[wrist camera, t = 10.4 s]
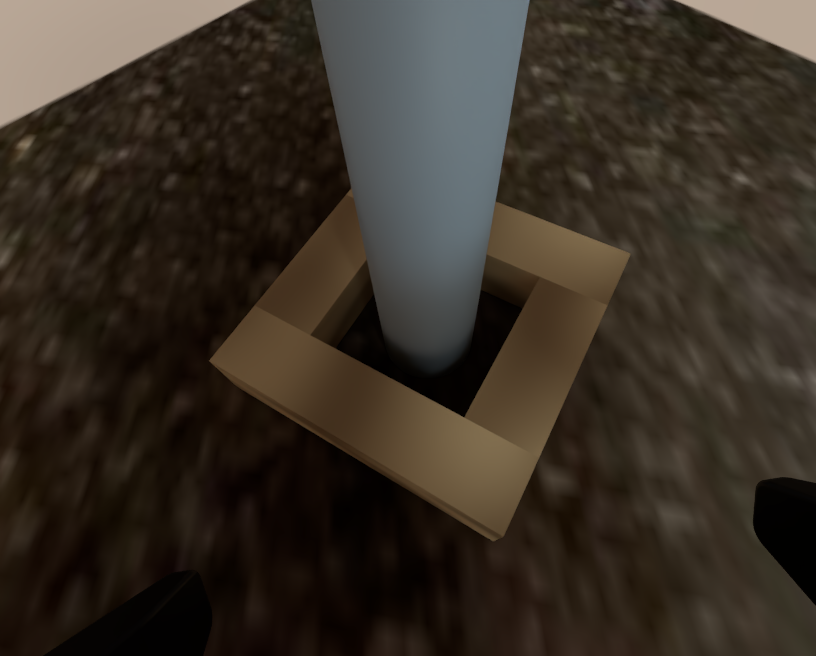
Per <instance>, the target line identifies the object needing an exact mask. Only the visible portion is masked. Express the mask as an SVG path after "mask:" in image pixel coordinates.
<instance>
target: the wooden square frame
mask: <svg viewBox="0 0 816 656" xmlns="http://www.w3.org/2000/svg"><path fill="white" fill-rule="evenodd" d="M629 256H630V253H627V252H625V251H622V250H620V249H617V248H615V247H612V246H609V245H607V244H604V243H602V242H599V241H596V240H594V239H591V238H589V237H586V236H584V235H581V234H578V233H576V232H573V231H571V230H568V229H565V228H563V227H560V226H558V225H555V224H553V223H550V222H547V221H545V220H542V219H540V218H537V217H534V216H532V215H529V214H527V213H524V212H522V211H519V210H516V209H514V208H511V207H509V206H506V205H503V204H501V203H498V202H496V201H495V207H494V213H493V219H492V225H491V231H490V237H489V243H488V249H487V254H486V260H485V266H484V272H483V278H482V284H481V290H482V291H484V292H487V293H489V294H491V295H493V296H496V297H498V298H500V299H502V300H505V301H507V302H509V303H511V304H514V305H516V306H518V307H520V308H522V311H521V313H520V315H519V317H518V319H517V320H516V322H515V324H514V326H513V328H512V330H511V332H510V333H509V335H508V337H507V339H506V341H505V343H504V345H503V346H502V348H501V350H500V352H499V354H498V356H497V358H496V359H495V361H494V363H493V365H492V367H491V369H490V371H489V372H488V374H487V376H486V378H485V380H484V382H483V384H482V385H481V387H480V389H479V391H478V393H477V395H476V397H475V399H474V400H473V402H472V404H471V406H470V408H469V410H468V412H467V413H466V415H465V417H462V416H460V415H458V414H457V413H455V412H453V411H451V410H449V409H447V408H445V407H443V406H442V405H440V404H438V403H436V402H434V401H432V400H430V399H429V398H427V397H425V396H423V395H421V394H419V393H417V392H415V391H414V390H412V389H410V388H408V387H406V386H404V385H402V384H401V383H399V382H397V381H395V380H393V379H391V378H389V377H387V376H386V375H384V374H382V373H380V372H378V371H376V370H374V369H372V368H371V367H369V366H367V365H365V364H363V363H361V362H359V361H358V360H356V359H354V358H352V357H350V356H348V355H346V354H344V353H343V352H341V351H339V350H337V349H336V347H337V346H338V344H339V343H340V341H341V340H342V339H343V337H344V336H345V334H346V333H347V332H348V330H349V329H350V327H351V326H352V325H353V323H354V322H355V320H356V319H357V317H358V316H359V315H360V313H361V312H362V310H363V309H364V308H365V306H366V305H367V303H368V302H369V300H370V299H371V298H372V296H373V295H374V291H373V286H372V281H371V277H370V272H369V267H368V263H367V258H366V253H365V249H364V244H363V239H362V235H361V230H360V225H359V221H358V216H357V211H356V207H355V202H354V197H353V193H352V188H351V189H350V191H349V192H348V193H347V194H346V195H345V197H344V198H343V199H342V200H341V202H340V203H339V204H338V205H337V206H336V208H335V209H334V210H333V211H332V212H331V214H330V215H329V216H328V217H327V218H326V220H325V221H324V222H323V223H322V225H321V226H320V227H319V228H318V229H317V231H316V232H315V233H314V234H313V235H312V237H311V238H310V239H309V240H308V241H307V243H306V244H305V245H304V246H303V248H302V249H301V250H300V251H299V252H298V254H297V255H296V256H295V257H294V258H293V260H292V261H291V262H290V263H289V265H288V266H287V267H286V268H285V269H284V271H283V272H282V273H281V274H280V275H279V277H278V278H277V279H276V280H275V281H274V283H273V284H272V285H271V286H270V288H269V289H268V290H267V291H266V292H265V294H264V295H263V296H262V297H261V298H260V300H259V301H258V302H257V303H256V304H255V306H254V307H253V308H252V309H251V311H250V312H249V313H248V314H247V315H246V317H245V318H244V319H243V320H242V321H241V323H240V324H239V325H238V326H237V327H236V329H235V330H234V331H233V332H232V334H231V335H230V336H229V337H228V338H227V340H226V341H225V342H224V343H223V344H222V346H221V347H220V348H219V349H218V351H217V352H216V353H215V354H214V355H213V357H212V358H211V359H210V360H209V361H210V362H211V363H212V364H213V365H214V366H215V367H216V368H217V369H218V370H219V371H220V372H222V373H223V374H224V375H225V376H226V377H227V378H228V379H229V380H230V381H231V382H232V383H233V384H234V385H236V386H237V387H238V388H240V389H242V390H243V391H245V392H247V393H248V394H250V395H252V396H253V397H255V398H257V399H258V400H260V401H262V402H263V403H265V404H267V405H268V406H270V407H272V408H273V409H275V410H276V411H278V412H280V413H281V414H283V415H285V416H286V417H288V418H290V419H291V420H293V421H295V422H296V423H298V424H300V425H301V426H303V427H305V428H306V429H308V430H310V431H311V432H313V433H315V434H316V435H318V436H319V437H321V438H323V439H324V440H326V441H328V442H329V443H331V444H333V445H334V446H336V447H338V448H339V449H341V450H343V451H344V452H346V453H348V454H349V455H351V456H353V457H354V458H356V459H358V460H359V461H361V462H363V463H364V464H366V465H367V466H369V467H371V468H372V469H374V470H376V471H377V472H379V473H381V474H382V475H384V476H386V477H387V478H389V479H391V480H392V481H394V482H396V483H397V484H399V485H401V486H402V487H404V488H406V489H407V490H409V491H411V492H412V493H414V494H415V495H417V496H419V497H420V498H422V499H424V500H425V501H427V502H429V503H430V504H432V505H434V506H435V507H437V508H439V509H440V510H442V511H444V512H445V513H447V514H449V515H450V516H452V517H454V518H455V519H457V520H459V521H460V522H462V523H463V524H465V525H467V526H468V527H470V528H472V529H473V530H475V531H477V532H478V533H480V534H482V535H483V536H485V537H487V538H488V539H490V540H492V541H496V540H498V539H500V538H502V537H504V534H505V532H506V530H507V528H508V526H509V523H510V521H511V519H512V517H513V514H514V512H515V510H516V508H517V505H518V503H519V501H520V499H521V497H522V494H523V492H524V490H525V488H526V485H527V483H528V481H529V479H530V477H531V474H532V472H533V470H534V468H535V465H536V463H537V461H538V459H539V457H540V454H541V452H542V450H543V448H544V445H545V443H546V441H547V439H548V437H549V434H550V432H551V430H552V428H553V425H554V423H555V421H556V419H557V417H558V414H559V412H560V410H561V408H562V405H563V403H564V401H565V399H566V397H567V394H568V392H569V390H570V388H571V385H572V383H573V381H574V379H575V377H576V374H577V372H578V370H579V368H580V365H581V363H582V361H583V359H584V357H585V354H586V352H587V350H588V348H589V345H590V343H591V341H592V339H593V337H594V334H595V332H596V330H597V328H598V325H599V323H600V321H601V319H602V317H603V314H604V312H605V310H606V308H607V305H608V303H609V301H610V299H611V296H612V294H613V292H614V290H615V288H616V285H617V283H618V281H619V279H620V276H621V274H622V272H623V270H624V268H625V265H626V263H627V261H628V259H629Z"/></svg>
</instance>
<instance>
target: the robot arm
mask: <svg viewBox="0 0 816 656" xmlns="http://www.w3.org/2000/svg"><path fill="white" fill-rule="evenodd" d="M753 526H754V530H755V533H756V535H757V537H758V539H759V540H760V542H761V543H762V544H763V546H764V547H765V548H766V549H767V550H768V551H769V553H770V554H771V555H772V556H773V557H774V558H775V559H776V561H777V562H778V563H779V564H780V565H781V566H782V567H783V569H784V570H785V571H786V572H787V573H788V574H789V576H790V577H791V578H792V579H793V580H794V581H795V582H796V584H797V585H798V586H799V587H800V588H801V589H802V590H803V592H804V593H805V594H806V595H807V596H808V597H809V599H810V600H811V601H812V602H813V603H814V604H815V605H816V483H813V482H808V481H803V480H798V479H793V478H787V477H780V478H774V479H767V480H762V481H760V482H759V483H758V484H757V486H756V491H755V503H754V515H753ZM211 626H212V610H211V606H210V603H209V600H208V597H207V594H206V591H205V588H204V586H203V583H202V580H201V577H200V575H199V573H198V572H197V571H195V570H187V571H181V572H174V573H171V574H169V575H167V576H165V577H164V578H162V579H161V580H159V581H157V582H156V583H154V584H153V585H151V586H150V587H148V588H147V589H145V590H144V591H142V592H141V593H139V594H137V595H136V596H134V597H133V598H131V599H130V600H128V601H127V602H125V603H124V604H122V605H120V606H119V607H117V608H116V609H114V610H113V611H111V612H110V613H108V614H107V615H105V616H104V617H102V618H100V619H99V620H97V621H96V622H94V623H93V624H91V625H90V626H88V627H87V628H85V629H83V630H82V631H80V632H79V633H77V634H76V635H74V636H73V637H71V638H70V639H68V640H67V641H65V642H63V643H62V644H60V645H59V646H57V647H56V648H54V649H53V650H51V651H50V652H48V653H46V654H45V655H43V656H203V654H204V651H205V647H206V644H207V641H208V637H209V634H210V630H211Z"/></svg>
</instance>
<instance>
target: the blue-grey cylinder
mask: <svg viewBox="0 0 816 656" xmlns="http://www.w3.org/2000/svg"><path fill="white" fill-rule="evenodd" d="M311 1H312V6H313V10H314V15H315V20H316V24H317V29H318V34H319V39H320V43H321V48H322V53H323V57H324V62H325V67H326V71H327V76H328V81H329V85H330V90H331V95H332V99H333V104H334V109H335V113H336V118H337V123H338V127H339V132H340V137H341V141H342V146H343V151H344V155H345V160H346V165H347V169H348V174H349V179H350V183H351V188H352V193H353V197H354V202H355V207H356V211H357V216H358V221H359V225H360V230H361V235H362V239H363V244H364V249H365V253H366V258H367V263H368V267H369V272H370V277H371V281H372V286H373V291H374V295H375V300H376V305H377V309H378V314H379V319H380V323H381V328H382V333H383V337H384V342H385V347H386V350H387V353H388V355H389V357H390V359H391V360H392V362H393V363H394V364H395V365H396V366H397V367H398V368H399V369H400V370H402V371H403V372H405V373H407V374H409V375H411V376H414V377H418V378H426V379H430V378H438V377H442V376H445V375H447V374H450V373H451V372H453V371H455V370H456V369H457V368H458V367H460V366H461V365H462V363H463V362H464V361H465V360H466V358H467V356H468V354H469V352H470V349H471V344H472V338H473V332H474V326H475V320H476V314H477V308H478V302H479V296H480V290H481V284H482V278H483V272H484V266H485V260H486V254H487V249H488V243H489V237H490V231H491V225H492V219H493V213H494V207H495V201H496V195H497V189H498V183H499V177H500V171H501V165H502V160H503V154H504V148H505V142H506V136H507V130H508V124H509V118H510V112H511V106H512V100H513V94H514V88H515V82H516V76H517V70H518V65H519V59H520V53H521V47H522V41H523V35H524V29H525V23H526V17H527V11H528V5H529V0H311Z"/></svg>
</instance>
